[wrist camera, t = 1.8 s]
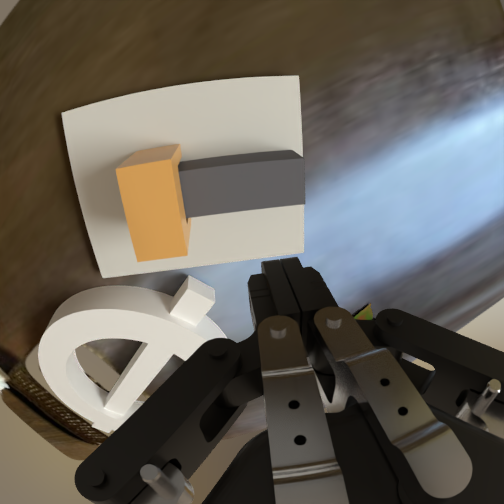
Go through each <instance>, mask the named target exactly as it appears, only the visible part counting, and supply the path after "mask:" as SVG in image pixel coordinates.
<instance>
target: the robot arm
mask: <svg viewBox="0 0 504 504" xmlns="http://www.w3.org/2000/svg"><path fill="white" fill-rule="evenodd" d="M261 268H262V274H255V275H251V276H250V279H249V281H248V292H249V302H250V311H251V316H252V321H253V326H254V333H253V334H252V335H251V336H250V337H249V338H247V339H245V340H243V341H241V342H239V343H236V342H234V341H233V340H231V339H227V338H214V339H211V340H208V341H206V342H205V343H203V344H202V345H201V346H200V347H199V348H198V349H197V350H196V351H195V352H194V353H193V354H192V355H191V356H190V357H189V358H188V359H187V360H186V361H185V362H184V363H183V364H182V365H181V366H180V367H179V368H178V369H177V370H176V371H175V372H174V373H173V374H172V375H171V376H170V377H169V378H168V379H167V380H166V381H165V382H164V383H163V384H162V385H161V386H160V387H159V388H158V389H157V390H156V391H155V392H154V393H153V394H152V395H151V396H150V397H149V398H148V399H147V400H146V401H145V402H144V403H143V404H142V405H141V406H140V407H139V408H138V409H137V410H136V411H135V412H134V413H133V414H132V415H131V416H130V417H129V418H128V419H127V420H126V421H125V422H124V423H123V424H122V425H121V426H120V427H119V428H118V429H117V430H116V431H115V432H114V433H113V434H112V435H111V436H109V437H108V438H107V439H106V440H105V441H104V442H103V443H102V444H101V445H100V446H99V447H98V448H97V449H96V450H95V451H94V452H93V453H92V454H91V455H90V456H88V457H87V458H86V459H85V460H84V461H83V462H82V463H81V464H80V465H79V467H78V468H77V470H76V473H75V485H76V487H77V490H78V491H79V492H80V494H81V495H82V496H84V497H85V498H86V499H88V500H90V501H91V502H93V503H95V504H191V503H192V501H193V498H194V490H193V487H192V485H191V484H190V482H189V481H188V479H189V478H190V477H191V476H192V475H193V473H194V472H195V471H196V470H197V469H198V467H199V466H200V465H201V464H202V463H203V461H204V460H205V459H206V457H207V456H208V455H209V454H210V453H211V451H212V450H213V449H214V448H215V447H216V445H217V444H218V443H219V442H220V440H221V439H222V438H223V436H224V435H225V434H226V433H227V431H228V430H229V429H230V427H231V426H232V425H233V424H234V422H235V421H236V420H237V418H238V417H239V416H240V414H241V413H242V412H243V410H244V409H245V407H246V406H247V403H248V402H249V401H251V400H253V399H255V398H258V397H260V396H262V395H263V396H264V406H265V416H266V426H267V430H265V431H263V432H261V433H259V434H258V435H256V436H255V437H253V438H252V439H251V440H250V441H249V442H247V443H246V444H245V445H244V446H243V448H242V449H241V450H240V451H239V453H238V454H237V455H236V457H235V458H234V460H233V461H232V463H231V464H230V465H229V467H228V468H227V470H226V471H225V472H224V474H223V475H222V477H221V478H220V480H219V481H218V482H217V484H216V485H215V486H214V488H213V489H212V490H211V492H210V493H209V494H208V496H207V497H206V499H205V500H204V501H203V502H202V504H504V352H502V351H499V350H497V349H494V348H492V347H489V346H487V345H485V344H482V343H480V342H477V341H475V340H472V339H470V338H468V337H465V336H462V335H460V334H458V333H455V332H453V331H450V330H448V329H446V328H443V327H441V326H438V325H436V324H433V323H431V322H428V321H426V320H424V319H421V318H419V317H416V316H414V315H411V314H409V313H406V312H404V311H402V310H398V309H385V310H383V311H381V312H379V313H378V315H377V317H376V320H360V319H354V318H353V316H352V315H351V314H350V312H348V311H347V310H345V309H343V308H340V307H339V306H338V305H337V303H336V301H335V299H334V298H333V296H332V294H331V292H330V290H329V289H328V287H327V285H326V283H325V282H324V281H323V278H322V276H321V275H320V273H319V272H318V271H316V270H315V269H313V268H312V267H305V268H303V267H302V265H301V263H300V261H299V259H298V257H293V258H285V259H280V261H279V259H278V260H271V261H263V262H261ZM404 353H406V354H409V355H411V356H413V357H415V358H418V359H420V360H422V361H424V362H427V363H429V364H431V365H432V366H433V367H434V368H435V370H434V371H430V370H427V369H425V368H422V367H420V366H418V365H416V364H414V363H411V362H409V361H407V360H405V359H403V358H402V357H403V354H404ZM307 357H309V359H310V361H311V365H310V367H309V365H308V361H307ZM320 395H321V396H320ZM321 397H322V399H323V402H324V404H325V406H326V408H327V411H328V413H325V412H324V408H323V404H322V400H321Z"/></svg>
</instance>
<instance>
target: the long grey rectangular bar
mask: <svg viewBox="0 0 504 504" xmlns="http://www.w3.org/2000/svg"><path fill="white" fill-rule="evenodd" d="M178 172H179V179H180V185H181V191H182V198H183V204H184V210H185V216H186V218H192V217H200V216H208V215H215V214H223V213H231V212H239V211H248V210H256V209H265V208H274V207H283V206H293V205H303V204H305V162H304V158H303V157H302V156H300V155H299V154H298V153H296V152H295V151H293V150H280V151H268V152H257V153H246V154H236V155H227V156H219V157H211V158H203V159H196V160H188V161H182V162H179V164H178Z"/></svg>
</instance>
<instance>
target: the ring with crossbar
mask: <svg viewBox="0 0 504 504" xmlns="http://www.w3.org/2000/svg"><path fill="white" fill-rule="evenodd" d="M214 303H215V289H214V288H212V287H210V286H208V285H206V284H204V283H203V282H201V281H199V280H197V279H195V278H193V277H191V276H188V277H187V278H186V280H185V281H184V283H183V284H182V286H181V287H180V288H179V290H178V291H177V293H176V294H175V295H174V297H173V296H170V295H167V294H165V293H161V292H158V291H154V290H151V289H146V288H141V287H134V286H120V285H115V286H101V287H95V288H91V289H88V290H85V291H82V292H79V293H77V294H75V295H73V296H71V297H70V298H68V299H67V300H66V301H64V302H63V303H62V304H61V305H60V306H59V307H58V309H57V310H56V311H55V313H54V315H53V316H52V318H51V320H50V322H49V324H48V326H47V328H46V330H45V332H44V334H43V336H42V338H41V341H40V344H39V348H38V359H39V365H40V368H41V371H42V374H43V376H44V378H45V380H46V381H47V383H48V385H49V386H50V388H51V389H52V390H53V392H54V393H55V394H56V395H57V396H58V397H59V398H60V399H61V400H62V401H63V402H64V403H65V404H66V405H67V406H69V407H70V408H71V409H72V410H74V411H75V412H77V413H78V414H80V415H81V416H83V417H85V418H87V419H88V420H90V421H92V422H93V423H92V427H94V428H97V429H99V430H102V431H104V432H107V433H109V432H110V431H111V430H114V431H116V430H117V429H118V428H119V427H120V426H121V425H122V424H123V423H124V422H125V421H126V420H127V419H128V418H129V417H130V416H131V415H132V414H133V413H134V412H135V411H136V410H137V409H138V408H139V407H140V406H141V405H142V404H143V403H144V401H137V400H136V399H137V398H138V397H139V396H140V394H141V393H142V392H143V391H144V390H145V388H146V387H147V386H148V385H149V383H150V382H151V381H152V380H153V379H154V377H155V376H156V375H157V374H158V372H159V371H160V370H161V369H162V367H163V366H164V365H165V364H166V363H167V361H168V360H169V359H170V358H171V356H172V355H173V354H175V355H177V356H178V357H180V358H182V359H183V360H184V361H186V360H187V359H188V358H189V357H190V356H191V355H192V354H193V353H194V352H195V351H196V350H197V349H198V348H199V347H200V346H201V345H202V344H203V343H205V342H206V341H208V340H211V339H214V338H227V337H226V336H225V334H224V333H223V332H222V330H221V329H220V328H219V327H218V326H217V325H216V324H215V323H214V322H213V321H212V320H211V319H210V318H209V317H207V316H206V315H205V314H206V313H207V312H208V311H209V310H210V308H211V307H212V306H213V305H214ZM106 338H120V339H130V340H136V341H141V342H143V343H142V344H141V346H140V347H139V349H138V350H137V352H136V353H135V355H134V356H133V358H132V359H131V360H130V362H129V363H128V365H127V366H126V368H125V369H124V371H123V372H122V374H121V375H120V377H119V379H118V380H117V382H116V383H115V385H114V386H113V388H112V389H111V391H108V390H107V391H108V392H109V393H108V392H106V391H105V390H103V389H101V388H100V387H99V386H97V385H96V384H95V383H93V382H92V381H91V380H90V379H89V378H88V377H87V376H86V375H85V373H86V372H85V371H84V370H83V368H82V367H81V365H80V363H79V362H78V359H77V356H76V352H75V349H76V348H77V347H78V346H80V345H82V344H84V343H87V342H90V341H93V340H98V339H106ZM83 371H84V372H85V373H84V372H83Z"/></svg>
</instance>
